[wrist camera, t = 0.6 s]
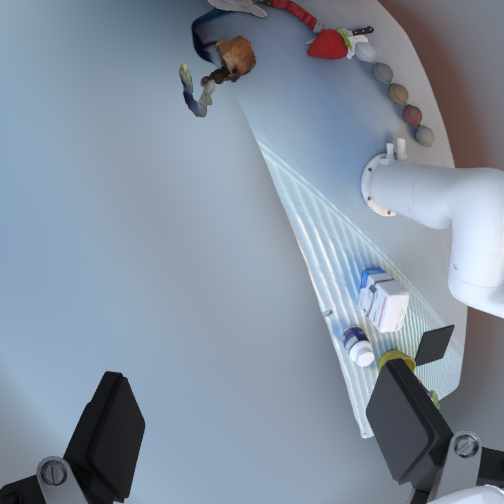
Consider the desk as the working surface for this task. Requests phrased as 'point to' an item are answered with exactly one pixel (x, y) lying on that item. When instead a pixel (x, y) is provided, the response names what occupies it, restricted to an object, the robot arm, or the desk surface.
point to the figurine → (219, 72)
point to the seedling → (435, 400)
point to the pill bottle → (357, 345)
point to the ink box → (383, 300)
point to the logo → (354, 41)
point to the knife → (353, 33)
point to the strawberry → (330, 45)
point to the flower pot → (397, 354)
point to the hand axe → (281, 0)
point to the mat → (433, 345)
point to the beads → (395, 92)
